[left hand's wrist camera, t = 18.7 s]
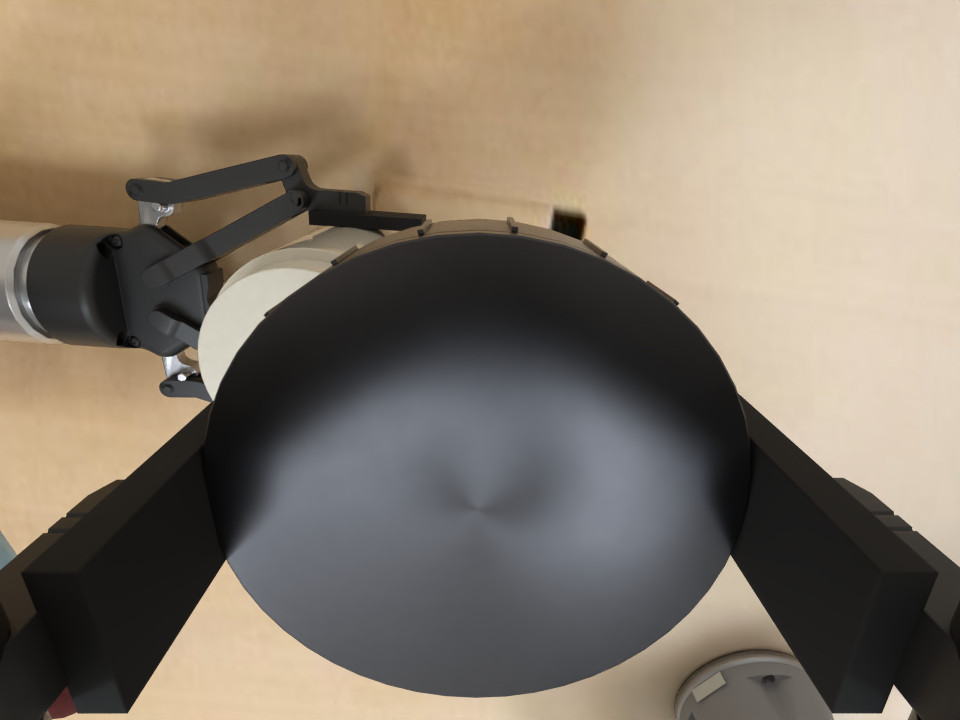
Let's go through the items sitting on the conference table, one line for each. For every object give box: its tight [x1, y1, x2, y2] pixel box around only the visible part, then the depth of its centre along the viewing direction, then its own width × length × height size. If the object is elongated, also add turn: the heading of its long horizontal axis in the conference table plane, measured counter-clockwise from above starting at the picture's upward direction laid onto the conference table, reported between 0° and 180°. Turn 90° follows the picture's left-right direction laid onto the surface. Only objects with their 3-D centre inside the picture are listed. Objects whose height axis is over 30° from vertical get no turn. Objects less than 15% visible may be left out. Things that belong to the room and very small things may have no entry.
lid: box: [203, 217, 751, 698], centre depth 11 cm, size 11×11×2 cm
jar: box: [198, 226, 400, 401], centre depth 31 cm, size 10×10×17 cm
